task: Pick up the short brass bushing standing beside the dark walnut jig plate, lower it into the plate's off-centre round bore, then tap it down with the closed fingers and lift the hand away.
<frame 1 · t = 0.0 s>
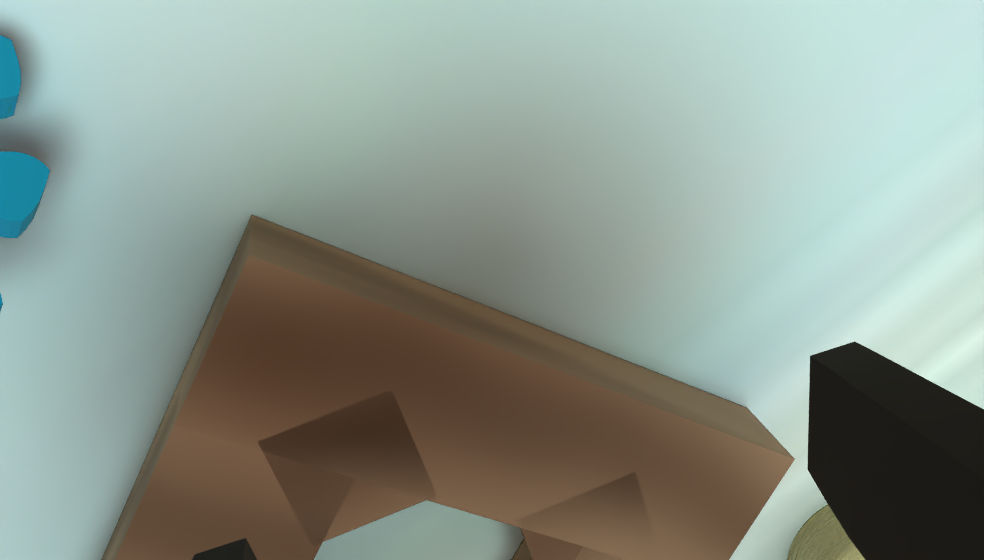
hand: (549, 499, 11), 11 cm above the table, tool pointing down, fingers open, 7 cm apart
bushing: (848, 548, 28), on the table
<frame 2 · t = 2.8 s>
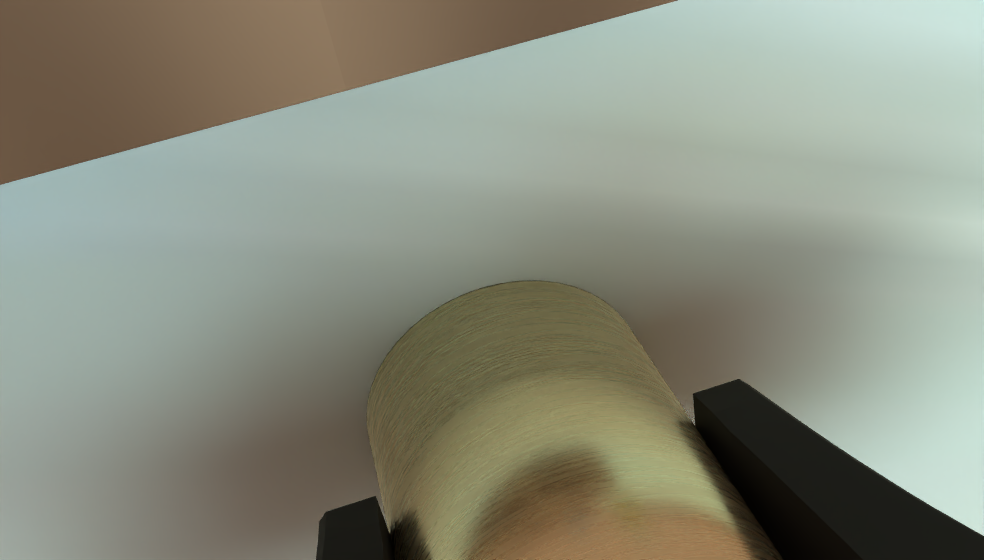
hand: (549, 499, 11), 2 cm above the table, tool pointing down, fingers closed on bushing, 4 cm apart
bushing: (508, 401, 13), on the table, touching gripper
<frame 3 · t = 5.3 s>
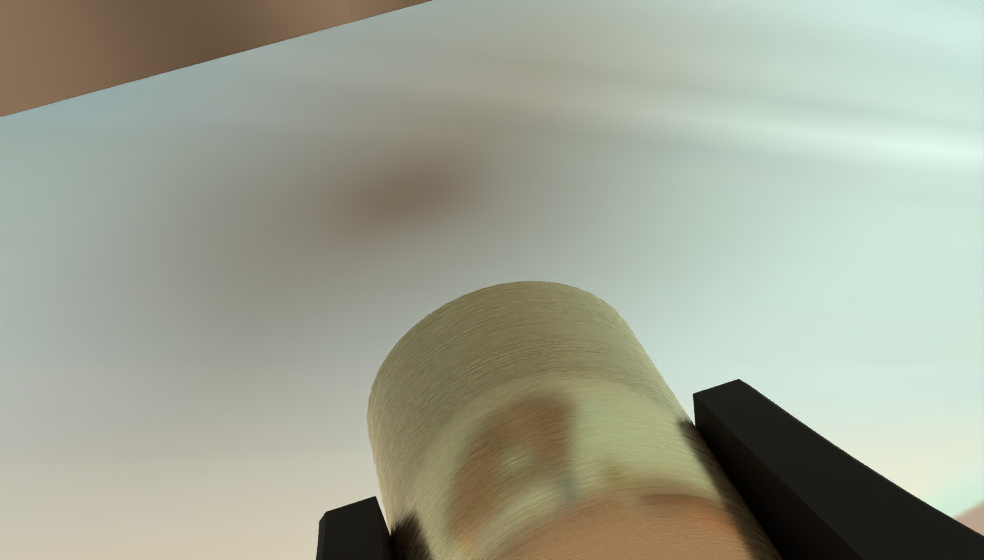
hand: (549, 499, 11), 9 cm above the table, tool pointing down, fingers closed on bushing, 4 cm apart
bushing: (508, 402, 13), point 7 cm above the table, touching gripper
when the fingers open (3 cm above the table, at t = 8.1 s): bushing drops 1 cm, resting in jig plate.
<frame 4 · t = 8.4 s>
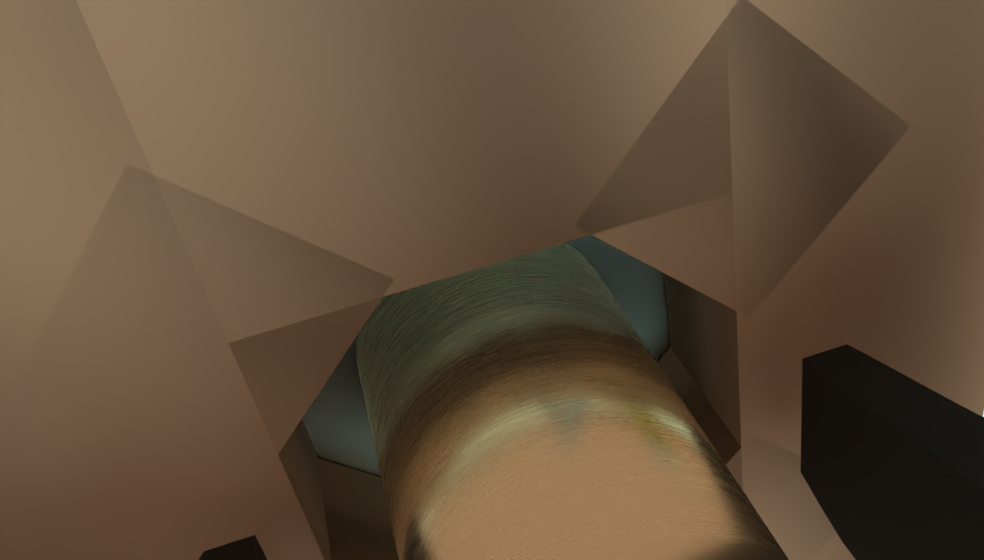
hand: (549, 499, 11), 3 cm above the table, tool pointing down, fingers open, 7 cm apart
bushing: (485, 339, 14), resting in jig plate
jig plate: (294, 400, 14), on the table
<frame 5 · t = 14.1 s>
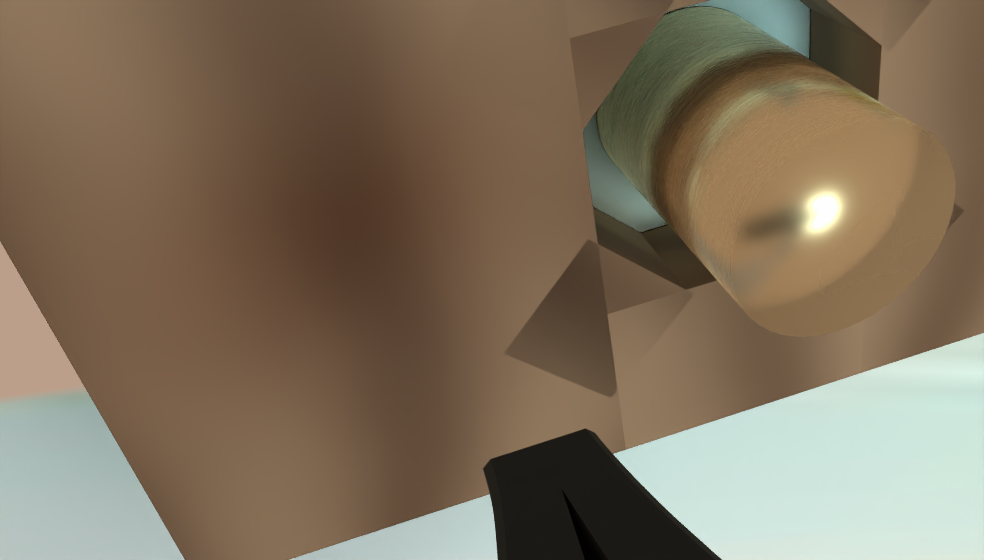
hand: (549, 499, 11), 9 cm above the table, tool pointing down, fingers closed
bushing: (684, 99, 20), resting in jig plate
jig plate: (550, 138, 19), on the table
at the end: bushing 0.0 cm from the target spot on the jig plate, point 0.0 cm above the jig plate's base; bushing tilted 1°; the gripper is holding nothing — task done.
